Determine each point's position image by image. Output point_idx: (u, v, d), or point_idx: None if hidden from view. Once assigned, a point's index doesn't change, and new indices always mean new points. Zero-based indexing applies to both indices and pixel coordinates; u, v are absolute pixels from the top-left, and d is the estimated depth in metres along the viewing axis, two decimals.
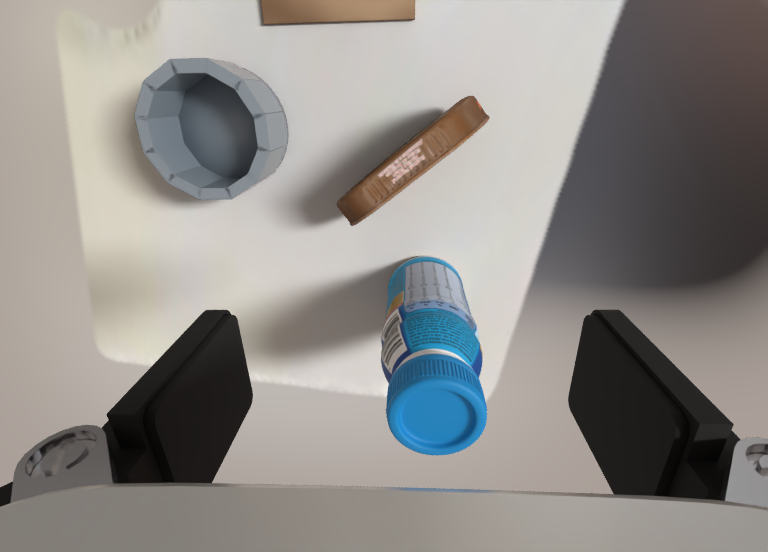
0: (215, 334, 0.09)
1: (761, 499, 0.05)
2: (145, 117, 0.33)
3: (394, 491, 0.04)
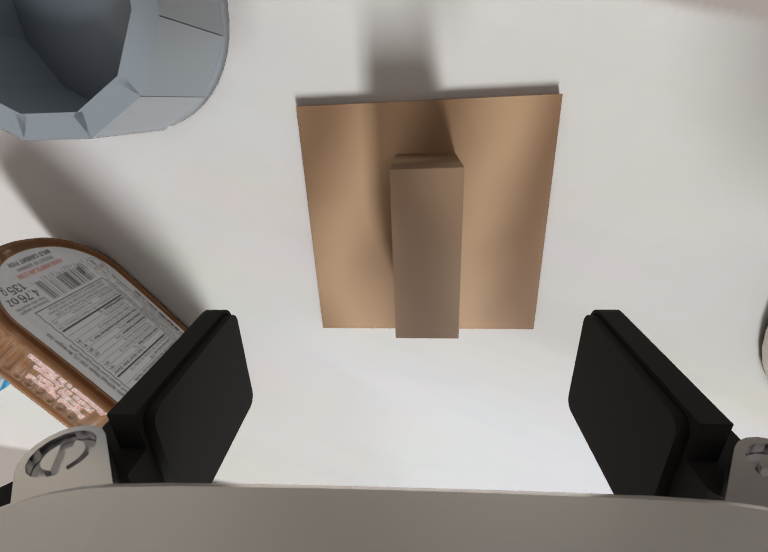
0: (215, 334, 0.09)
1: (761, 499, 0.05)
2: None
3: (394, 491, 0.04)
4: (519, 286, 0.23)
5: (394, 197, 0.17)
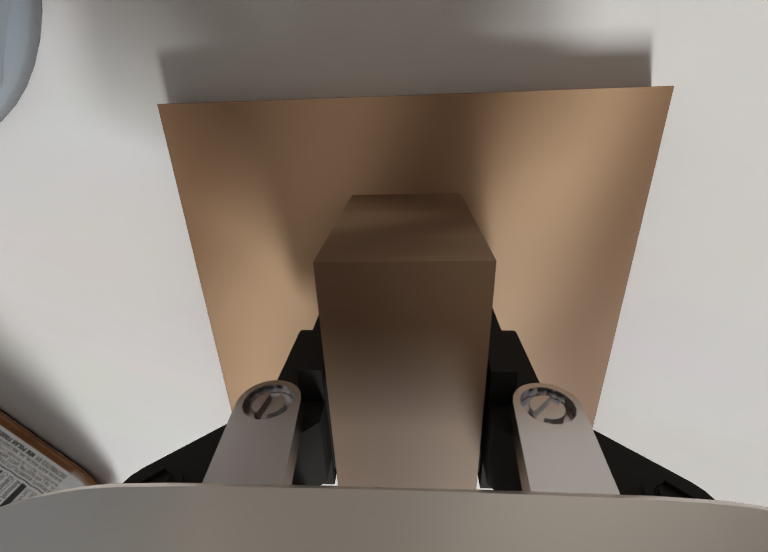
0: None
1: (543, 440, 0.06)
2: None
3: (394, 491, 0.04)
4: None
5: (329, 322, 0.07)
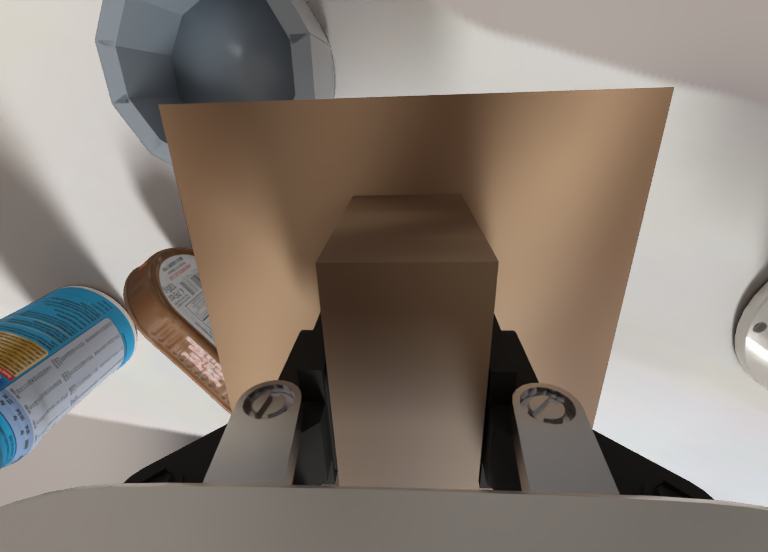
0: None
1: (542, 440, 0.06)
2: None
3: (394, 491, 0.04)
4: None
5: (332, 322, 0.07)
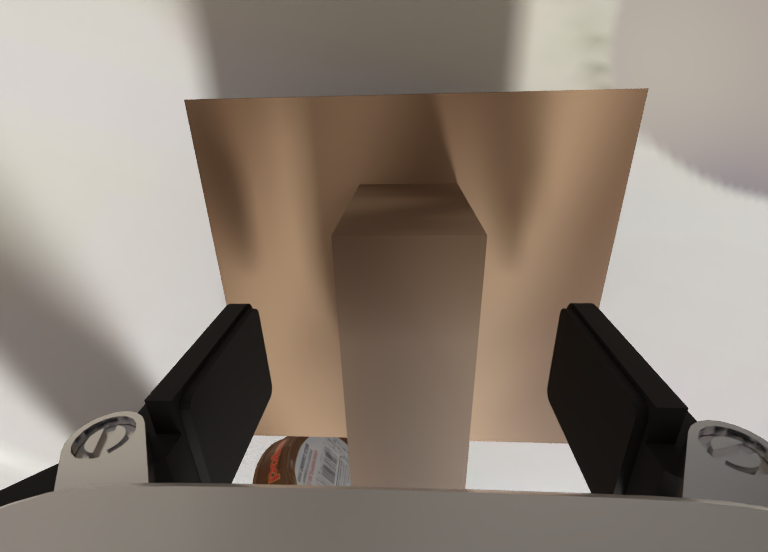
0: (240, 326, 0.10)
1: (715, 480, 0.06)
2: None
3: (394, 491, 0.04)
4: None
5: (344, 289, 0.08)
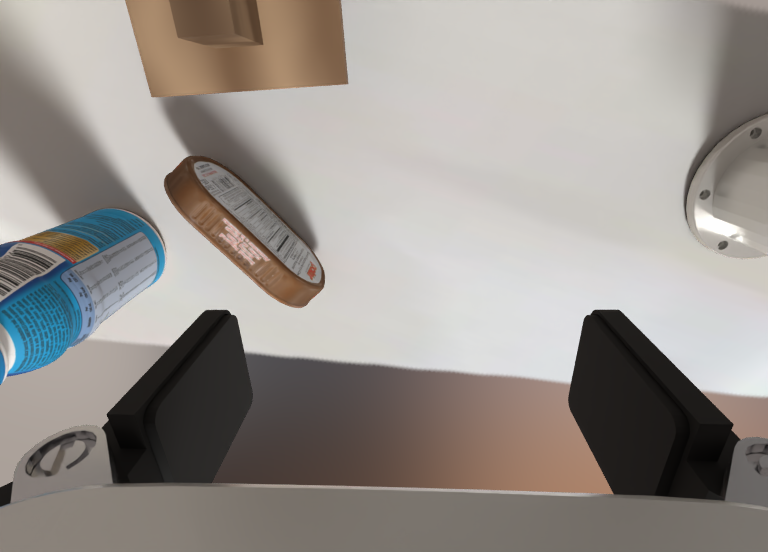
0: (215, 334, 0.09)
1: (761, 499, 0.05)
2: None
3: (394, 491, 0.04)
4: (325, 33, 0.25)
5: None
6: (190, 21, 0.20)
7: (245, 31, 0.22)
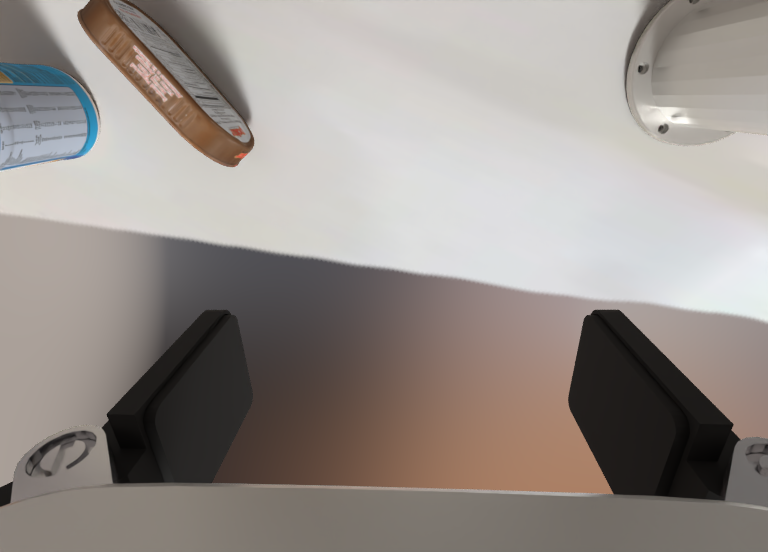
0: (215, 334, 0.09)
1: (761, 499, 0.05)
2: None
3: (394, 491, 0.04)
4: None
5: None
6: None
7: None
